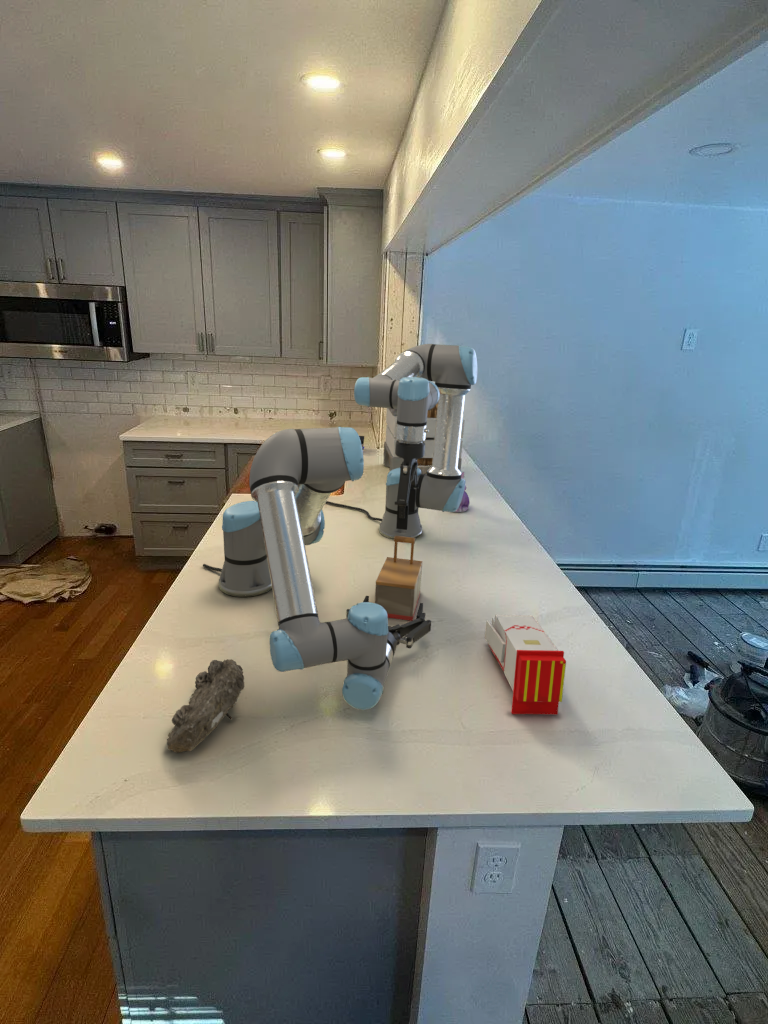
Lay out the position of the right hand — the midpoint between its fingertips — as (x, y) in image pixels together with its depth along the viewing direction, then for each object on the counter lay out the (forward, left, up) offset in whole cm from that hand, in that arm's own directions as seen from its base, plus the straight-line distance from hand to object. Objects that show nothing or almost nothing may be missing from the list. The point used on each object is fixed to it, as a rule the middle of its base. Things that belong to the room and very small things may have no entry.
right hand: (405, 519), depth 150 cm
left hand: (+10, -12, -16) cm, 23 cm away
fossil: (+15, -62, -22) cm, 68 cm away
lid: (+3, -4, -13) cm, 14 cm away
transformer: (-87, +91, -22) cm, 128 cm away
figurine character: (-137, +92, -22) cm, 167 cm away
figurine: (-40, +67, -22) cm, 81 cm away
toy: (+42, -4, -22) cm, 48 cm away
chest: (+3, -4, -22) cm, 23 cm away
